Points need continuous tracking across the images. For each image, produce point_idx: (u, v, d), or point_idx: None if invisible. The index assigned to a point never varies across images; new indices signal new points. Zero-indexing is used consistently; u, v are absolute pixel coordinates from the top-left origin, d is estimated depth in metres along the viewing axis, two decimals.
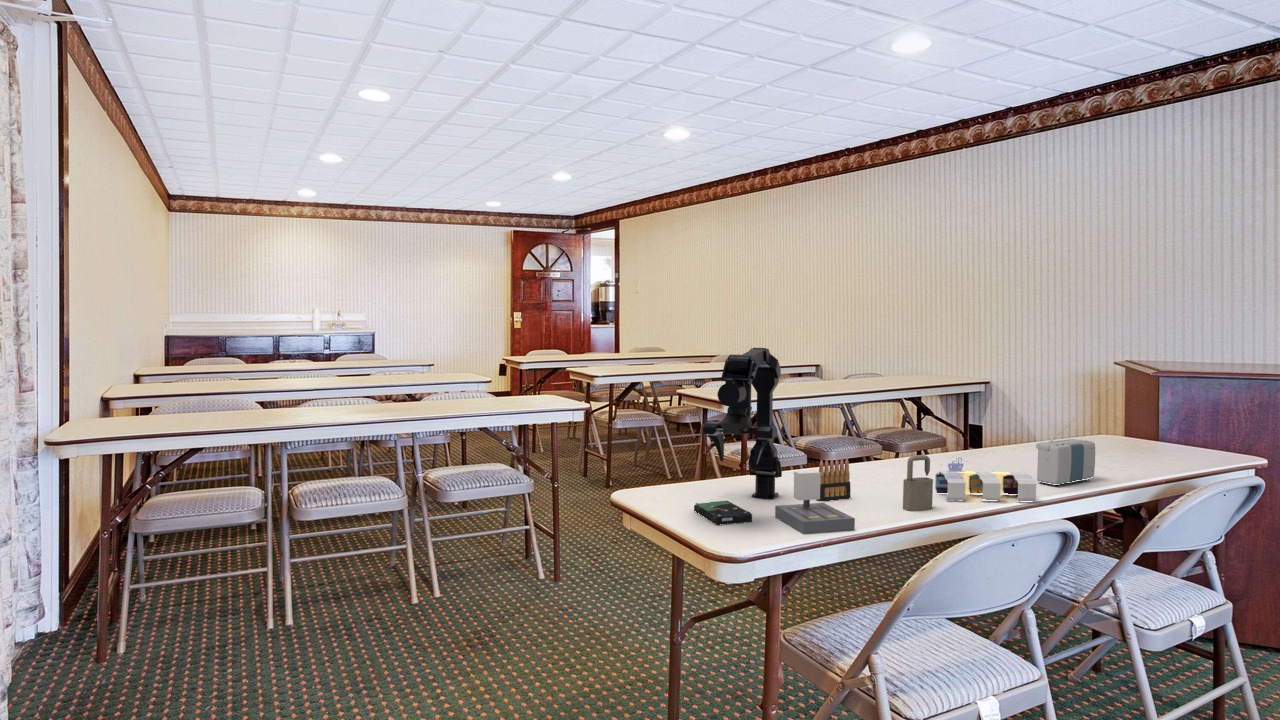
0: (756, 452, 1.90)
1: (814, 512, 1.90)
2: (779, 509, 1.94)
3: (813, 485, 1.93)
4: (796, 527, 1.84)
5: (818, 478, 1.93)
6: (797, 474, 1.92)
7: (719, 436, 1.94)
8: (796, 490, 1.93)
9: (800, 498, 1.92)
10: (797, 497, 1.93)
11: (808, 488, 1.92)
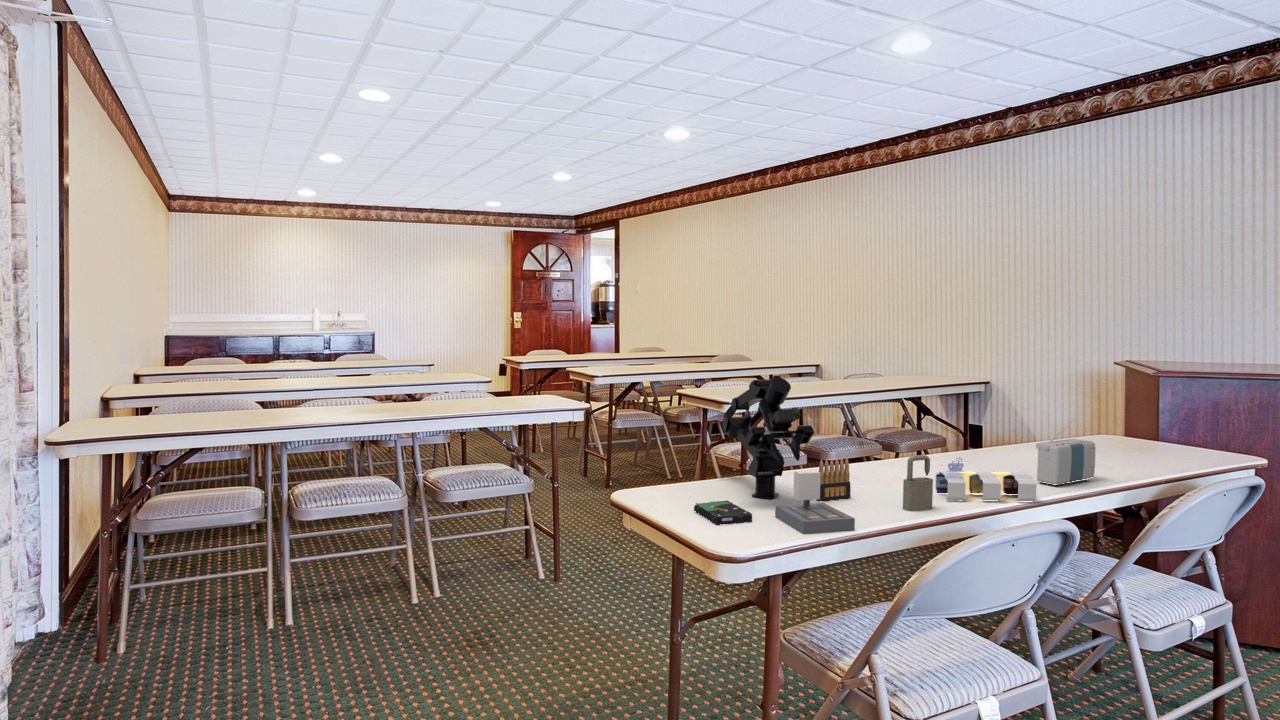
0: (797, 447, 2.06)
1: (814, 512, 1.90)
2: (779, 509, 1.94)
3: (813, 485, 1.93)
4: (796, 527, 1.84)
5: (818, 478, 1.93)
6: (797, 474, 1.92)
7: None
8: (796, 490, 1.93)
9: (800, 498, 1.92)
10: (797, 497, 1.93)
11: (808, 488, 1.92)
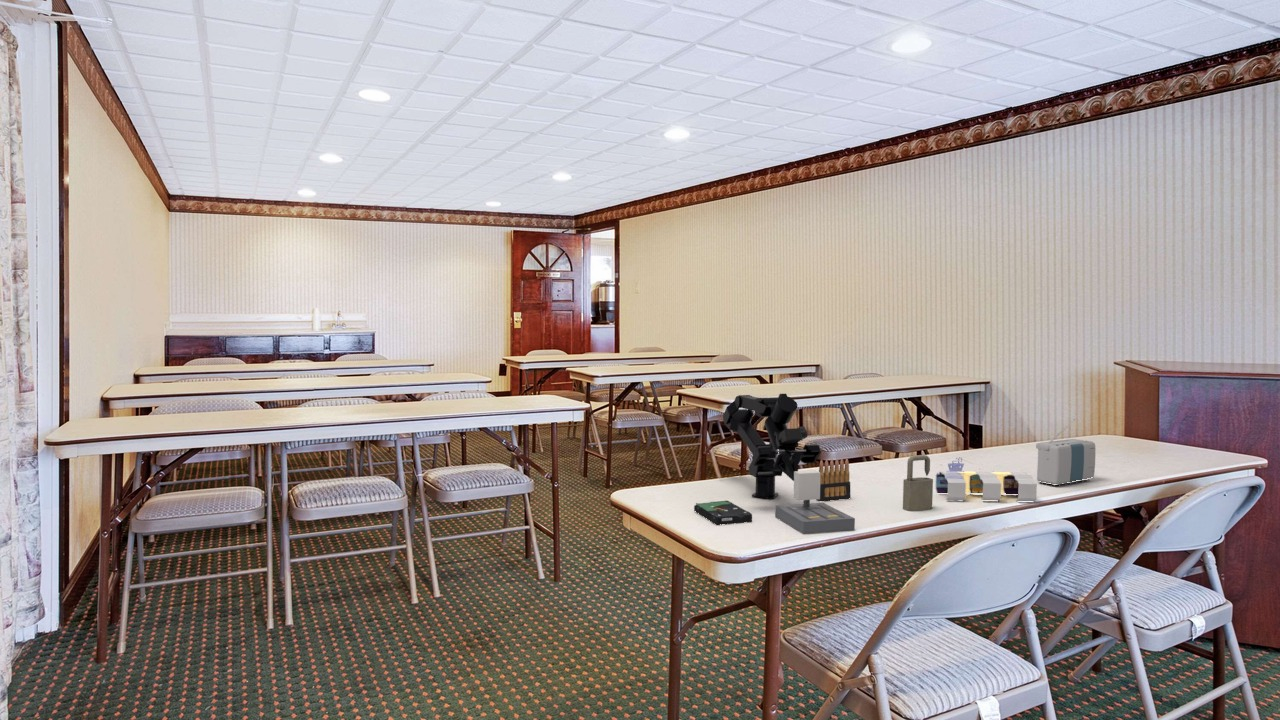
0: (795, 468, 2.01)
1: (814, 512, 1.90)
2: (779, 509, 1.94)
3: (813, 485, 1.93)
4: (796, 527, 1.84)
5: (818, 478, 1.93)
6: (797, 474, 1.92)
7: None
8: (796, 490, 1.93)
9: (800, 498, 1.92)
10: (797, 497, 1.93)
11: (808, 488, 1.92)
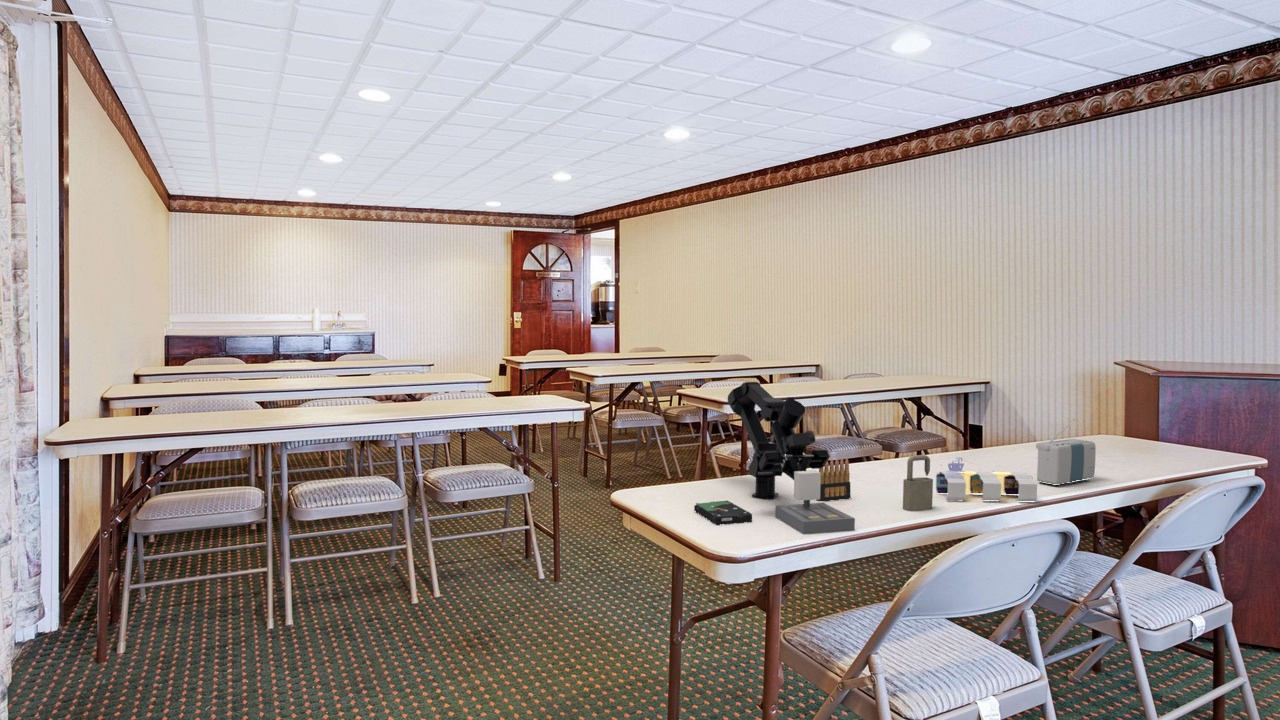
0: None
1: (814, 512, 1.90)
2: (779, 509, 1.94)
3: (813, 485, 1.93)
4: (796, 527, 1.84)
5: (818, 478, 1.93)
6: (797, 474, 1.92)
7: None
8: (796, 490, 1.93)
9: (800, 498, 1.92)
10: (797, 497, 1.92)
11: (808, 488, 1.92)
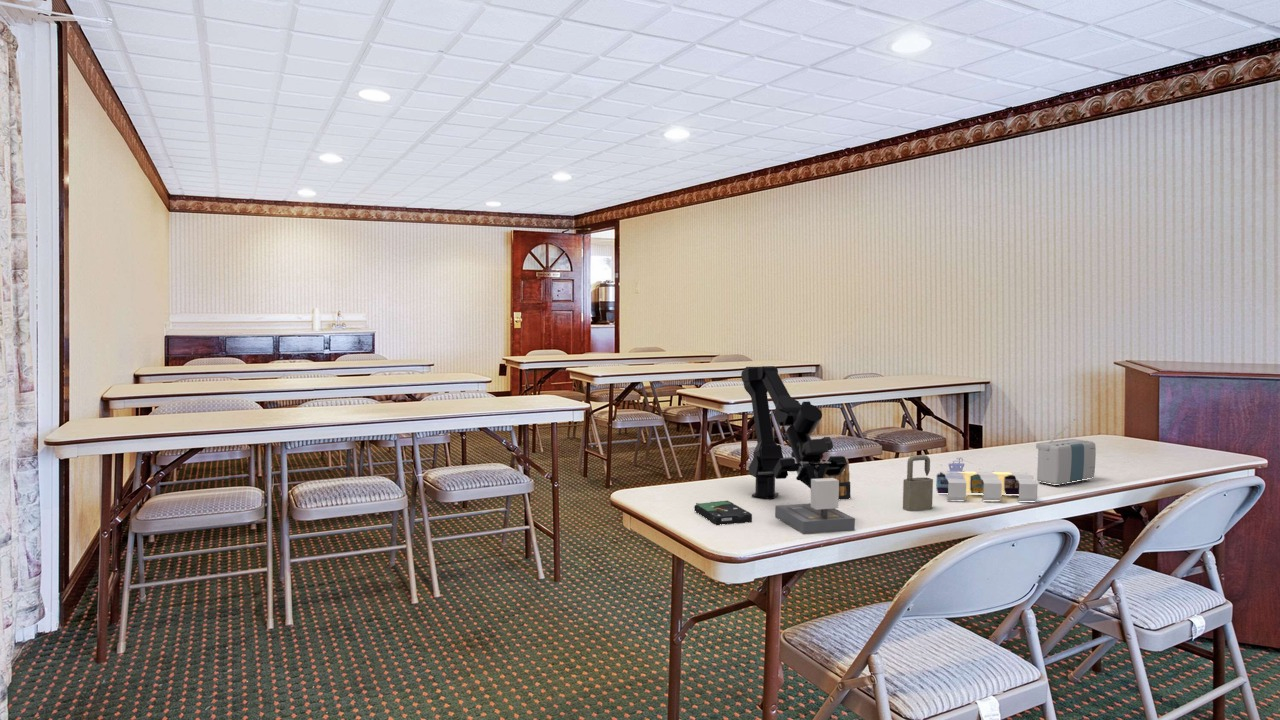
0: None
1: (814, 512, 1.90)
2: (779, 509, 1.94)
3: (831, 493, 1.84)
4: (796, 527, 1.84)
5: (836, 486, 1.84)
6: (814, 482, 1.83)
7: None
8: (813, 498, 1.84)
9: (818, 507, 1.83)
10: (814, 506, 1.84)
11: (825, 496, 1.83)
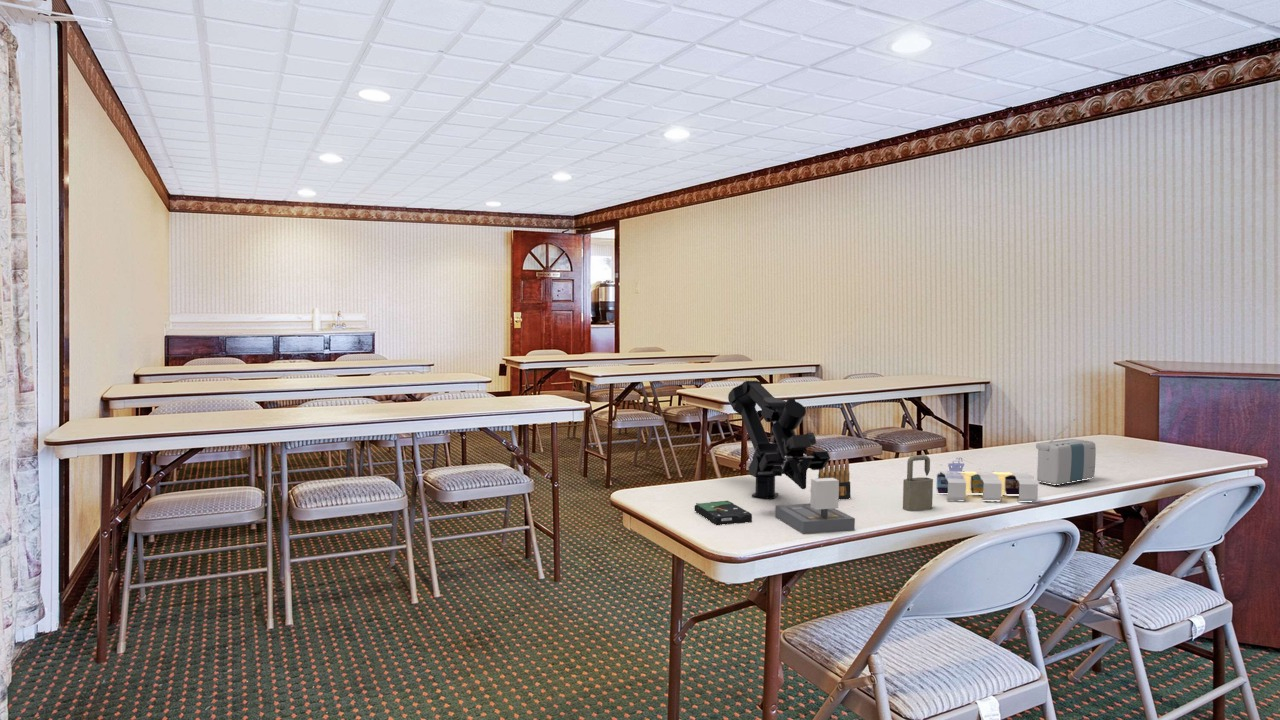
0: (803, 475, 1.97)
1: (814, 512, 1.90)
2: (779, 509, 1.94)
3: (831, 493, 1.84)
4: (796, 527, 1.84)
5: (836, 486, 1.84)
6: (814, 482, 1.83)
7: None
8: (813, 498, 1.84)
9: (818, 507, 1.83)
10: (814, 506, 1.83)
11: (825, 496, 1.83)
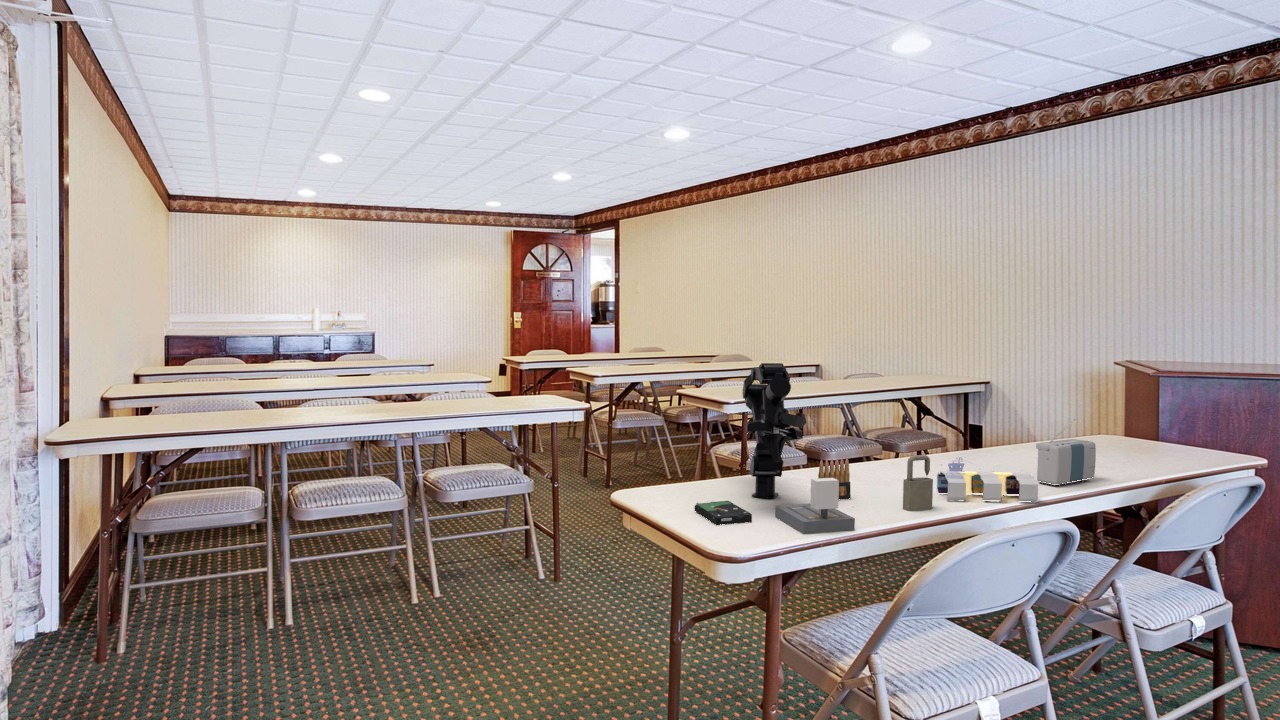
0: (780, 449, 2.03)
1: (814, 512, 1.90)
2: (779, 509, 1.94)
3: (831, 493, 1.84)
4: (796, 527, 1.84)
5: (836, 486, 1.84)
6: (814, 482, 1.83)
7: None
8: (813, 498, 1.84)
9: (818, 507, 1.83)
10: (814, 506, 1.83)
11: (825, 496, 1.83)
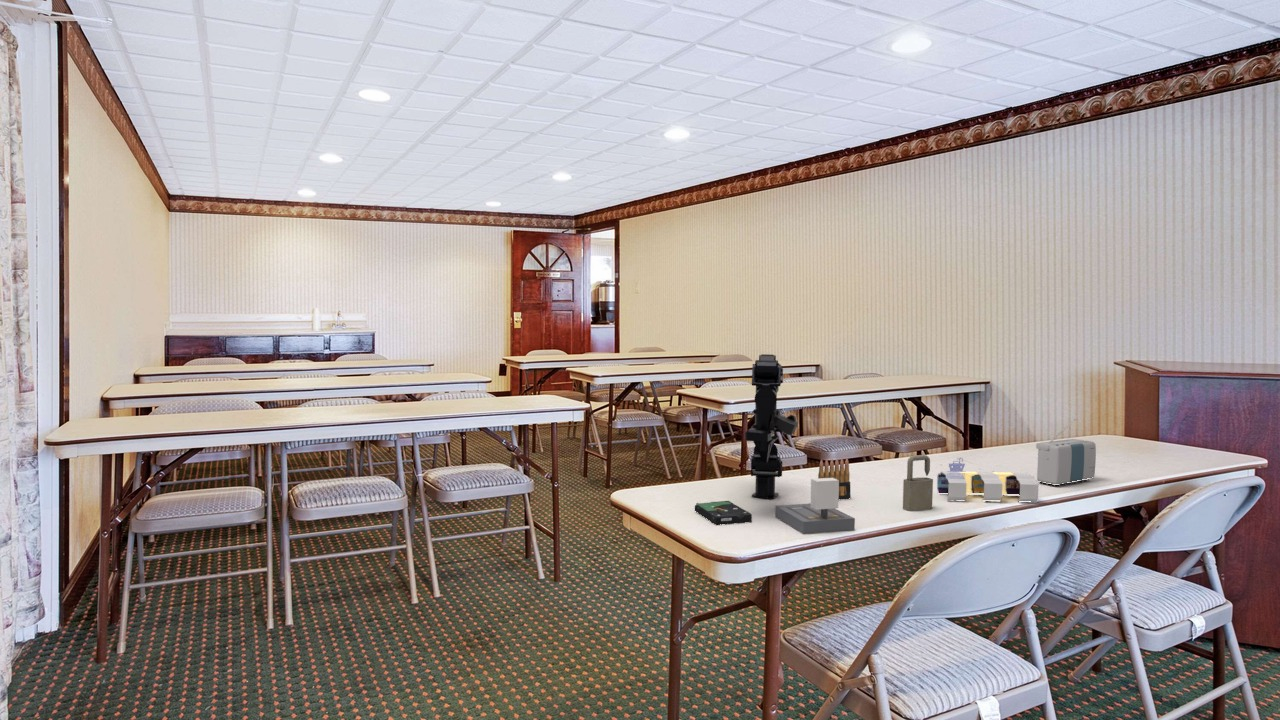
0: (769, 450, 2.03)
1: (814, 512, 1.90)
2: (779, 509, 1.94)
3: (831, 493, 1.84)
4: (796, 527, 1.84)
5: (836, 486, 1.84)
6: (814, 482, 1.83)
7: None
8: (813, 498, 1.84)
9: (818, 507, 1.83)
10: (814, 506, 1.83)
11: (825, 496, 1.83)
